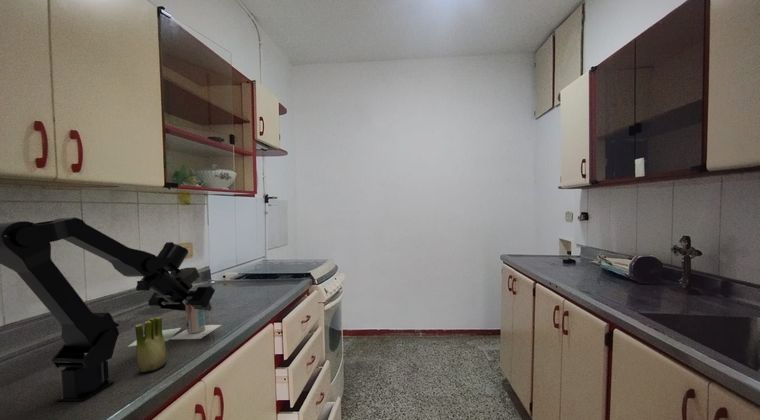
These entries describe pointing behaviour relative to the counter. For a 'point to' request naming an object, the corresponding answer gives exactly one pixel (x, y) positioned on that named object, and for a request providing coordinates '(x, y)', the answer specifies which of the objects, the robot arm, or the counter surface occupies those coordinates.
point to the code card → (197, 335)
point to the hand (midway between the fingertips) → (198, 309)
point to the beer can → (194, 318)
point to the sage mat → (166, 335)
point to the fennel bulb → (150, 345)
